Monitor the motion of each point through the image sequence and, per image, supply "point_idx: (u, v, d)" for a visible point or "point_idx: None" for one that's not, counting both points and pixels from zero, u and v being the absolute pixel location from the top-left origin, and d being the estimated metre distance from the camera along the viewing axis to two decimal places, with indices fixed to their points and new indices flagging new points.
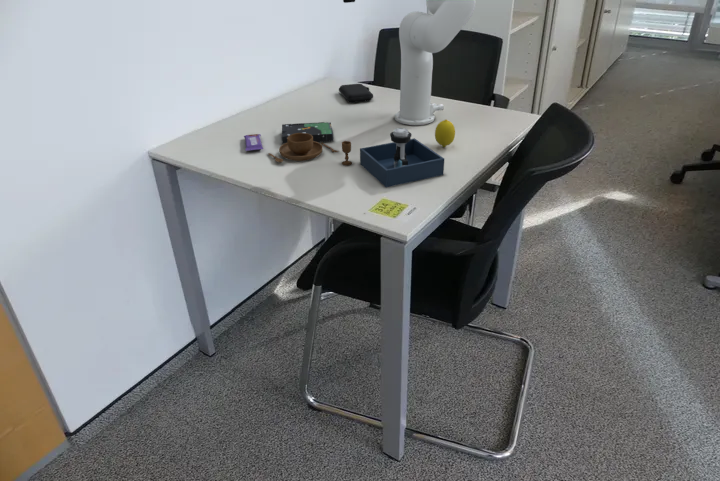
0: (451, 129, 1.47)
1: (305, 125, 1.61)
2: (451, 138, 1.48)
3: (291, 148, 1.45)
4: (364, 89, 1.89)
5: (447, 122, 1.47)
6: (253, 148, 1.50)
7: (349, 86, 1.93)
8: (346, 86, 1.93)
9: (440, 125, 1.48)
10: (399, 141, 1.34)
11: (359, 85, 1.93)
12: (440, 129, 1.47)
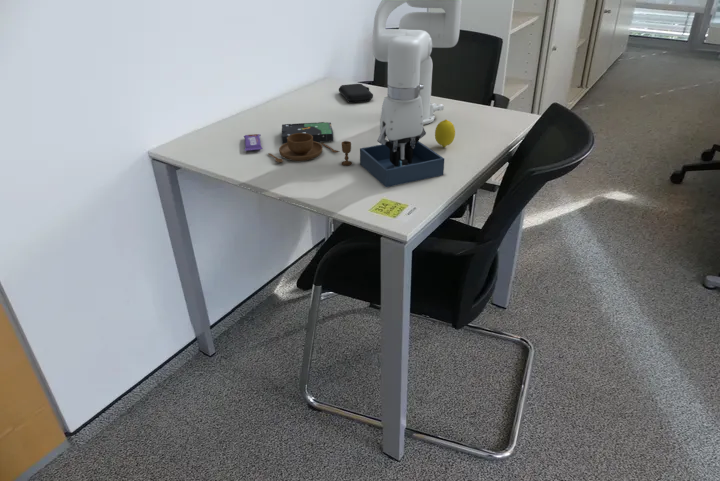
0: (451, 129, 1.47)
1: (305, 125, 1.61)
2: (451, 138, 1.48)
3: (291, 148, 1.45)
4: (364, 89, 1.89)
5: (447, 122, 1.47)
6: (252, 148, 1.50)
7: (349, 86, 1.93)
8: (346, 86, 1.93)
9: (440, 125, 1.48)
10: (399, 141, 1.34)
11: (359, 85, 1.93)
12: (440, 129, 1.47)
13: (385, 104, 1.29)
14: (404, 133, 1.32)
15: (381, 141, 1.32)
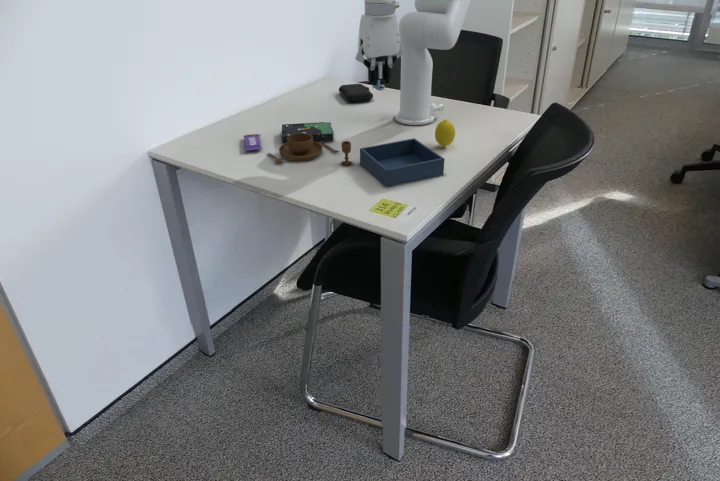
0: (451, 129, 1.47)
1: (305, 125, 1.61)
2: (451, 138, 1.48)
3: (291, 148, 1.45)
4: (364, 89, 1.89)
5: (447, 122, 1.47)
6: (252, 148, 1.50)
7: (349, 86, 1.93)
8: (346, 86, 1.93)
9: (440, 125, 1.48)
10: (376, 59, 1.39)
11: (359, 85, 1.93)
12: (440, 129, 1.47)
13: (362, 21, 1.34)
14: (381, 51, 1.37)
15: (359, 58, 1.38)
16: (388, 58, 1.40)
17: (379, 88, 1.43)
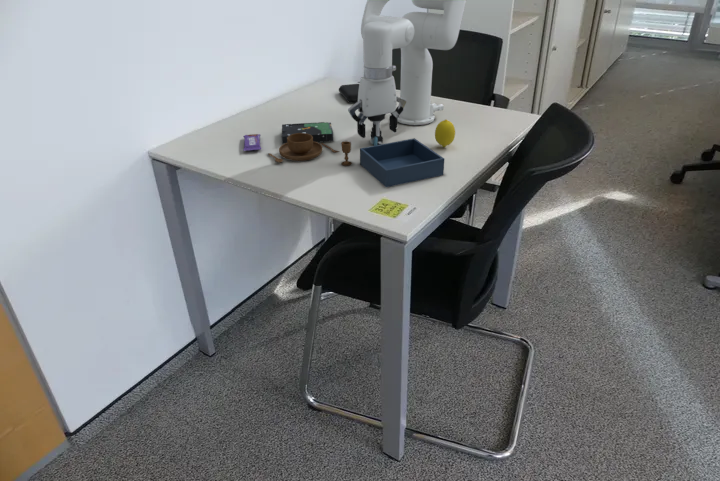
0: (451, 129, 1.47)
1: (305, 125, 1.61)
2: (451, 138, 1.48)
3: (291, 148, 1.45)
4: None
5: (447, 122, 1.47)
6: (251, 148, 1.50)
7: (349, 86, 1.93)
8: (346, 86, 1.93)
9: (440, 125, 1.48)
10: (374, 119, 1.48)
11: None
12: (440, 129, 1.47)
13: (362, 83, 1.43)
14: (379, 110, 1.47)
15: (352, 111, 1.45)
16: (392, 112, 1.50)
17: None
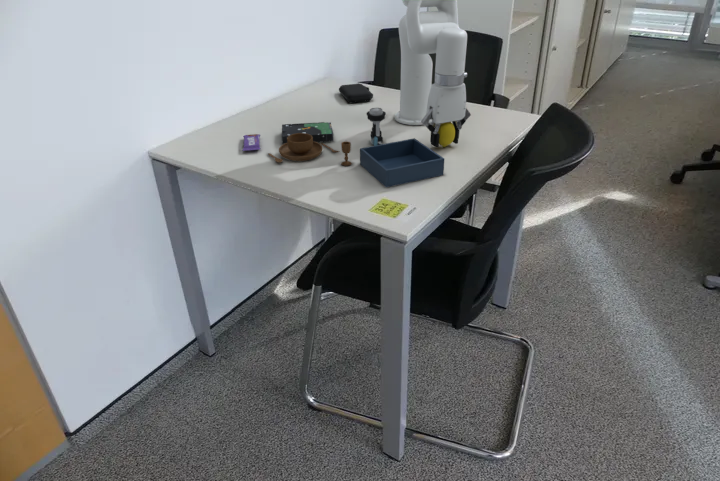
0: (451, 129, 1.47)
1: (305, 125, 1.61)
2: (451, 138, 1.48)
3: (291, 148, 1.45)
4: (364, 89, 1.89)
5: (447, 122, 1.47)
6: (250, 148, 1.50)
7: (349, 86, 1.93)
8: (346, 86, 1.93)
9: (440, 125, 1.47)
10: (374, 119, 1.48)
11: (359, 85, 1.93)
12: (440, 129, 1.47)
13: (433, 90, 1.42)
14: (449, 117, 1.45)
15: (425, 122, 1.45)
16: (457, 122, 1.48)
17: None
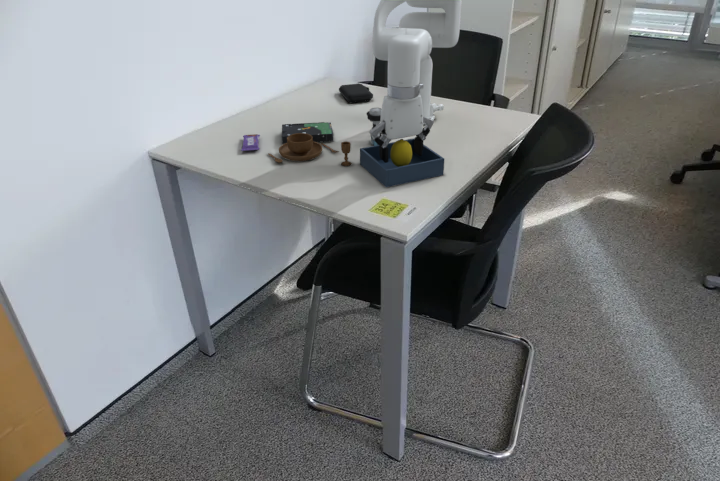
0: (407, 149, 1.35)
1: (305, 125, 1.61)
2: (407, 159, 1.36)
3: (291, 148, 1.45)
4: (364, 89, 1.89)
5: (403, 142, 1.35)
6: (249, 148, 1.50)
7: (349, 86, 1.93)
8: (346, 86, 1.93)
9: (395, 145, 1.35)
10: (374, 119, 1.48)
11: (359, 85, 1.93)
12: (395, 150, 1.35)
13: (385, 103, 1.29)
14: (404, 132, 1.32)
15: (374, 133, 1.30)
16: (418, 134, 1.35)
17: None
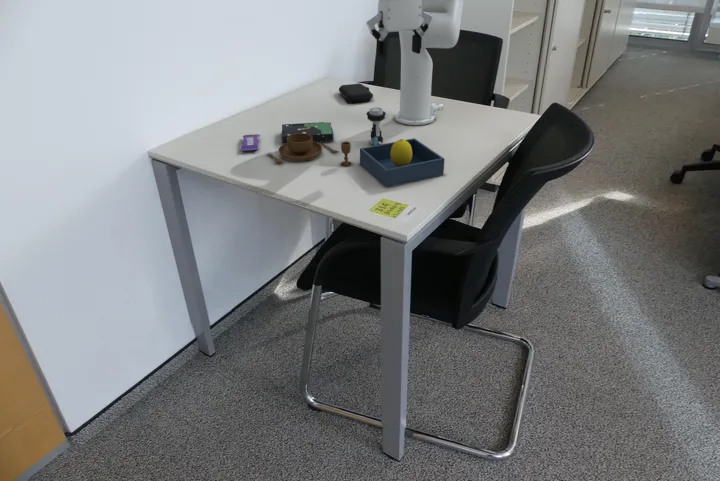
0: (407, 149, 1.35)
1: (305, 125, 1.61)
2: (407, 159, 1.36)
3: (291, 148, 1.45)
4: (364, 89, 1.89)
5: (403, 142, 1.35)
6: (248, 148, 1.50)
7: (349, 86, 1.93)
8: (346, 86, 1.93)
9: (395, 145, 1.35)
10: (374, 119, 1.48)
11: (359, 85, 1.93)
12: (395, 150, 1.35)
13: None
14: (402, 24, 1.29)
15: (371, 24, 1.27)
16: (416, 29, 1.32)
17: None
